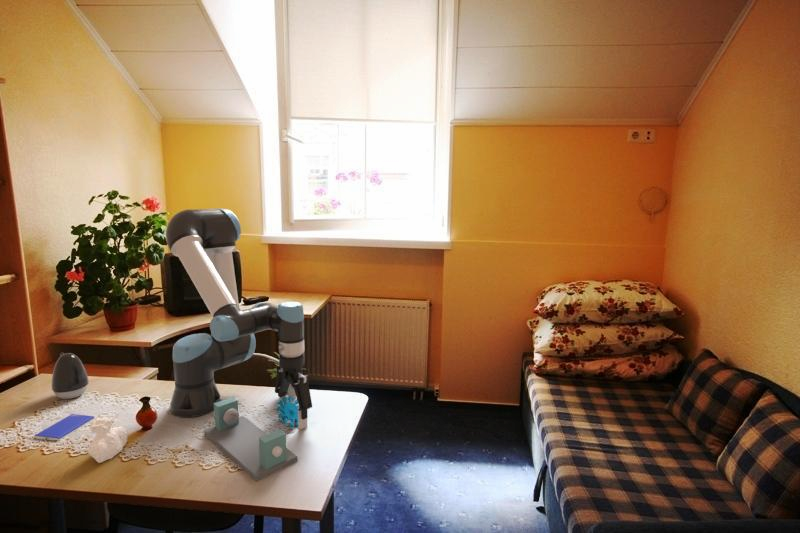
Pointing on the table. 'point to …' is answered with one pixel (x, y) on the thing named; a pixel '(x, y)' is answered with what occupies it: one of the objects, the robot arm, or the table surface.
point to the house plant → (290, 390)
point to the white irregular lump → (106, 439)
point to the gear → (288, 411)
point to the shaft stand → (248, 442)
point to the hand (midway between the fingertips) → (293, 421)
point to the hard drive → (64, 427)
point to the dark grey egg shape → (69, 377)
